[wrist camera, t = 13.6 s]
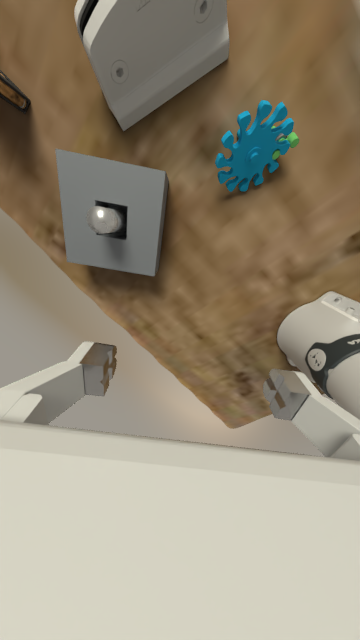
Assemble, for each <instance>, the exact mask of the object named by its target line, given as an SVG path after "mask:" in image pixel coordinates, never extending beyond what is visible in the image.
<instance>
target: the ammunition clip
mask: <svg viewBox="0 0 360 640" xmlns="http://www.w3.org/2000/svg"><path fill="white" fill-rule="evenodd" d="M0 97H1V98H3V99H4V100H6V101H7V102H8V103H10V104H11V105H13V106H14V107H15V108H17V109H18V110H20V111H21V112H23V113H24V114H25V113H26V111H27V108H28V106H29V104H30V100H29V99H28V98H27V97H26V96H25V95H24V94H23V93H22V92H21V91H20V90H19V88H18V87H17V86H16V85H15V84H14V83H13V82H12V81H11V80H10V79H9V78H8V77H7V76H6V75H5V74H4V73H3V72H2V71H1V70H0Z"/></svg>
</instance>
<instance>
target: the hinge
mask: <svg viewBox="0 0 360 640" xmlns="http://www.w3.org/2000/svg"><path fill="white" fill-rule="evenodd" d="M74 13H75V20H76V25H77V29H78V33H79V36H80V38H81V41H82V43H83V46H84V48H85V51H86V53H87V55H88V58H89V60H90V63H91V65H92V68H93V70H94V72H95V75H96V77H97V80H98V82H99V85H100V87H101V90H102V92H103V94H104V97H105V99H106V101H107V104H108V106H109V108H110V110H111V111H112V113H113V114H114V116H115V118H116V119H117V121H118V123H119V124H120V126H121V128H122V130H123V131H125V130H126V129H128V128H129V127H131V126H132V125H134V124H135V123H136V122H138V121H139V120H141V119H142V118H144V117H145V116H146V115H148V114H149V113H151V112H152V111H154V110H155V109H156V108H158V107H159V106H161V105H162V104H164V103H165V102H166V101H168V100H169V99H171V98H172V97H174V96H175V95H176V94H178V93H179V92H181V91H182V90H184V89H185V88H186V87H188V86H189V85H191V84H192V83H194V82H195V81H196V80H198V79H199V78H201V77H202V76H204V75H205V74H206V73H208V72H209V71H211V70H212V69H214V68H215V67H216V66H218V65H219V64H221V63H222V62H224V61H225V60H226V59H228V55H229V33H228V24H227V2H226V0H78V1H77V4H76V6H75V12H74Z"/></svg>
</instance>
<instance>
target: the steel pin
mask: <svg viewBox="0 0 360 640" xmlns="http://www.w3.org/2000/svg"><path fill="white" fill-rule="evenodd" d="M86 218H87V223H88V225H89V227H90V228H91V229H92V230H93V231H94V232H96V233H99V234H105V233H112V232H119V231H126V230H127V213H126V212H124V211H120V210H115V209H110V208H105V207H100V206H94V207H91V208H90V209H89V210H88V212H87V216H86Z"/></svg>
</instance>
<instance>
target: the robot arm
mask: <svg viewBox="0 0 360 640" xmlns="http://www.w3.org/2000/svg"><path fill="white" fill-rule="evenodd" d="M335 299H336V300H335ZM334 300H335V301H334ZM277 342H278V345H279V347H280V349H281V350H282V351H283V352H284V353H285V354H286V355H287V360H288V362H289V363H290V364H291V365H292V366H297V367H298V368H299V369H300V370H301V371H302V372H303V373H302V372H297V371H286V370H279V369H272V370H271V371H270V373H269V376H270V378H269V379H267V380H266V381H265V383H264V385H263V393H264V396H265V398H266V399H267V400H268V401H269V402H270V406H269V407H270V409H271V411H272V413H273V415H274V417H275V418H278V419H284V420H291V421H292V423H293V424H294V425H295V426H296V427H297V428H298V429H299V430H300V431H301V432H302V433H303V434H304V435H305V436H306V437H307V438H308V439H309V440H310V441H311V442H312V443H313V444H314V445H315V446H316V447H317V448H318V450H319V451H320V452H322V454H323V455H324V456H325V457H321V456H312V455H303V454H294V453H286V452H277V451H268V450H259V449H250V448H241V447H233V446H224V445H215V444H207V443H198V442H188V441H180V440H171V439H163V438H154V437H146V436H137V435H128V434H119V433H110V432H102V431H93V430H84V429H75V428H66V427H58V426H49V424H48V423H50V422H51V421H52V420H54V419H55V418H56V417H58V416H59V415H60V414H61V413H63V412H64V411H65V410H67V409H68V408H69V407H71V406H72V405H73V404H75V403H76V402H77V401H78V400H80V399H81V398H82V397H84V396H85V395H95V396H104V395H105V393H106V391H107V388H108V386H109V380H110V379H112V378H113V375H114V372H115V369H116V358H115V355H116V353H117V351H116V350H117V348H116V346H114V345H108V344H101V343H95V342H89V341H84V342H83V343H82V344H81V345H80V346H79V347H78V348H77V350H76V351H75V352H74V353H73V354H72V356H71V357H70V358H69V359H68V360H67V361H66V362H60V363H58V364H56V365H54V366H51V367H49V368H47V369H44V370H42V371H40V372H37V373H35V374H33V375H30V376H28V377H26V378H23V379H21V380H19V381H17V382H14V383H12V384H10V385H7V386H5V387H3V388H0V640H360V303H359V302H357V301H354V300H352V299H350V298H347V297H345V296H343V295H340V294H338V293H336V292H332V291H331V292H328V293H326V294H324V295H323V296H321V297H320V298H319V299H317V300H316V301H314V302H311V303H308V304H306V305H303V306H301V307H299V308H297V309H296V310H294V311H293V312H292V313H290V314H289V315H288V316H287V317H286V318H285V320H284V321H283V322H282V324H281V326H280V328H279V330H278V334H277ZM306 376H307V377H308V378H309V379H310V380H311V381H312V382H314V383H317V385H318V387H319V388H320V389H321V390H322V391H323V392H324V393H325V394H326V395H327V396H328V397H330V398H332V399H334V400H335V401H336V403H337V404H338V405H339V406H338V405H337V404H335V403H333V402H332V401H331V400H329V399H328V398H326V397H323V396H322V395H321V394H320V393H319V391H318V390H317V389H316V388H315V387H314V385H313V384H312V383H311V382H310V380H309V379H308V378H307V377H306Z"/></svg>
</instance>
